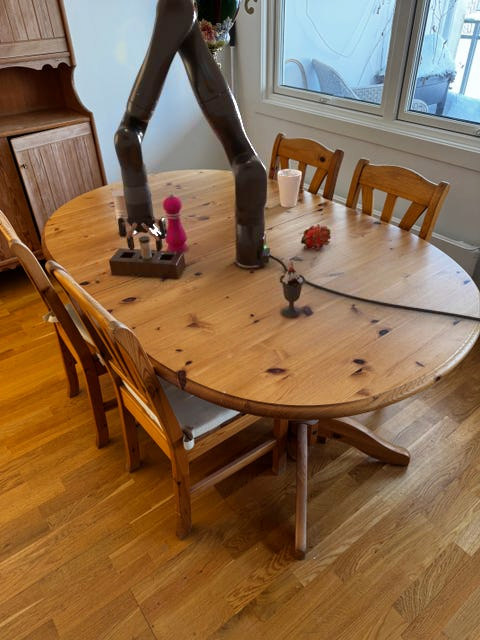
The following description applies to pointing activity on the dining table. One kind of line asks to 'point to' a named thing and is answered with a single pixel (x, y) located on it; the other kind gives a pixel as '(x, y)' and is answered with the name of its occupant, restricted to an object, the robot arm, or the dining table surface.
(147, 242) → the peg
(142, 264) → the dark brown hollow block
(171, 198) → the pepper mill
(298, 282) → the sundae
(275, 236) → the dining table surface
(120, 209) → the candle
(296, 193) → the foam cup
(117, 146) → the robot arm
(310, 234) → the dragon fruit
